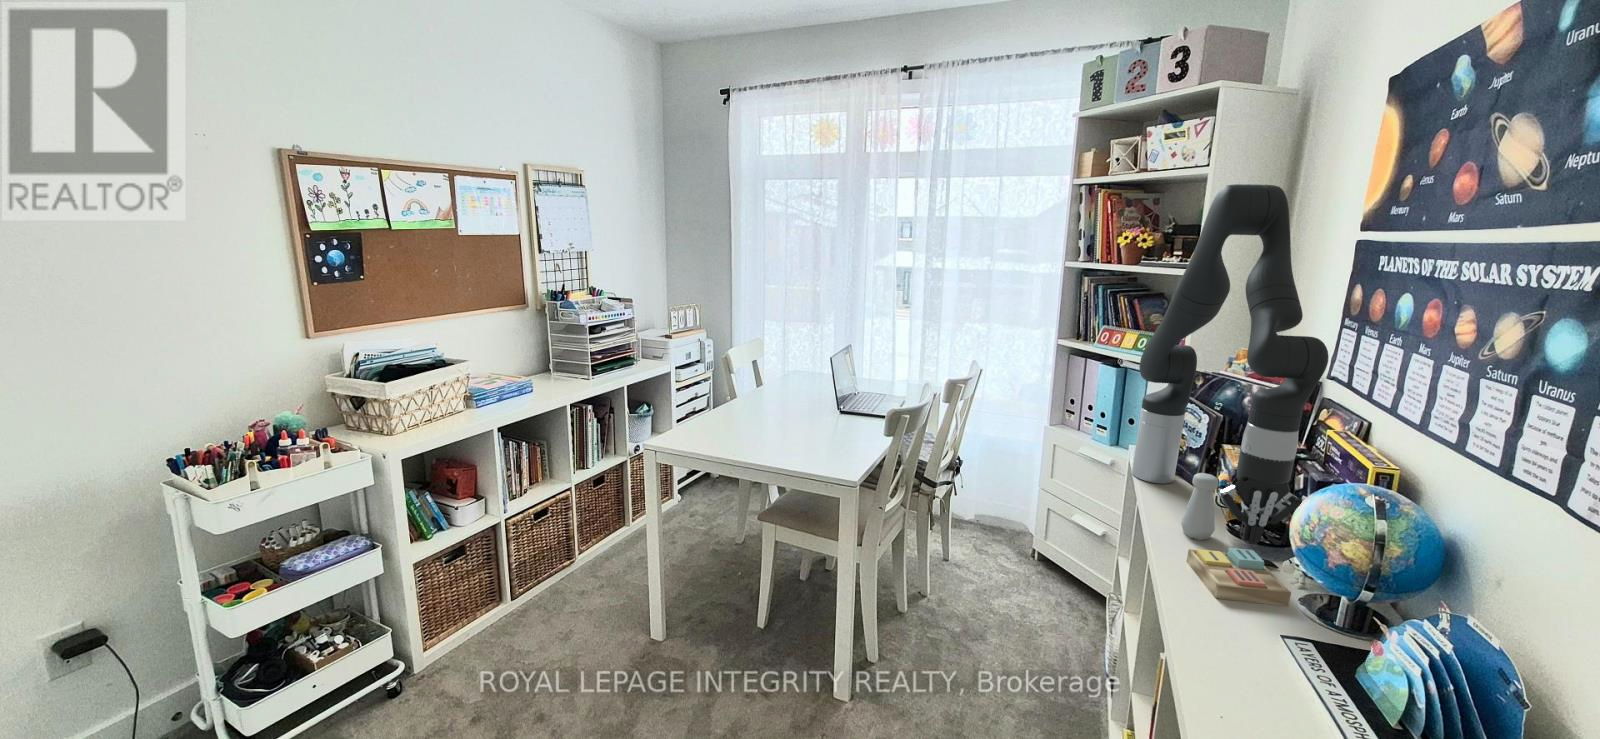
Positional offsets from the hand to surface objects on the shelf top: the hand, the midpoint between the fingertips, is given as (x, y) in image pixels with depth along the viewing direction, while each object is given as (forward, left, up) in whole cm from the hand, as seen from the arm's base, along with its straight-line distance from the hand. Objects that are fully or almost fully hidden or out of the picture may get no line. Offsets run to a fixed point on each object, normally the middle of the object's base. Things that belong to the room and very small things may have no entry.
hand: (1249, 542), depth 111 cm
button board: (+3, -3, -7) cm, 8 cm away
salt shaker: (-14, -2, -7) cm, 16 cm away
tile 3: (+6, -3, -6) cm, 9 cm away
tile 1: (0, -5, -6) cm, 8 cm away
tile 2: (0, 0, -5) cm, 5 cm away
